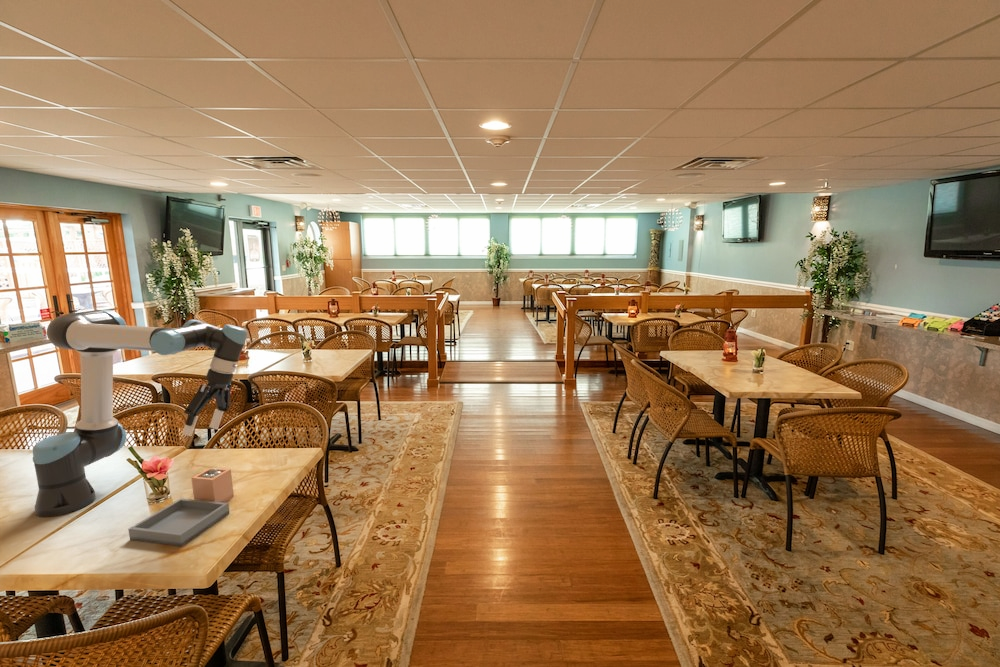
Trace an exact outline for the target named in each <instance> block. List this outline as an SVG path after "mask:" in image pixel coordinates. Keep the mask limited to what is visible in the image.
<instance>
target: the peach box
mask: <svg viewBox="0 0 1000 667" xmlns="http://www.w3.org/2000/svg"><path fill="white" fill-rule="evenodd" d="M232 478H233V477H232V469H231V468H221V467H209V468H206V469H205V470H204V471H202V472H200V473H198V474H196V475H194V476H192V477H191V485H192V492H193V500H202V501H212V502H221V503H227V502H228V501H229V500H231V499H233V497H234V486H233V479H232Z"/></svg>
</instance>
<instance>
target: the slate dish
mask: <svg viewBox="0 0 1000 667" xmlns="http://www.w3.org/2000/svg"><path fill="white" fill-rule="evenodd" d="M229 514H230V506H229V503H228V502H224V503H221V502H212V501H202V500H194V498H193V499H192V498H183V497H181V498H179V499H177V500H176V501H174V502H172V503H170V504H169V505H166V506H165V507H164V508H162V509H159V510H158V511H156V512H155V513H153V514H151V515H150V516H148V517H146V518H145V519H143V520H141V521H139V522H137V523H136V524H134V525H132V526H130V527H129V528H128V535H129V540H130V541H137V542H145V543H152V544H161V545H168V546H175V547H176V546H177V547H183V546H185V545H186V544H187V543H189V542H191V541H192V540H194V539H195V538H196V537H198V536H199V535H200V534H202V533H204V532H205V531H206V530H208V529H209V528H211V527H212V526H214V525H215V524H216V523H218V522H219V521H221V520H222V519H223V518H225V517H226V516H228V515H229Z"/></svg>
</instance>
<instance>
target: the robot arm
mask: <svg viewBox="0 0 1000 667" xmlns="http://www.w3.org/2000/svg"><path fill="white" fill-rule="evenodd" d="M46 328H47V329H46V337H47V339H48V340H49V342H50V343H51V344H52V345H53V346H55V347H57V348H59V349H62V350H73V351H75V352H77V353H78V354H80V407H81V408H80V420H79V421H77V423H75V427H74V428H75V432H63V433H59V434H56V435H51V436H49V437H46V438H44V439H42V440H40V441H39V442H37V443H35V445H34V446H33V449H32V462H33V463H34V464H33V466H34V468H35V475H36V480H37V487H38V492H37V495H36V500H35V505H34V512H35V513H36V514H35V516H37V515H38V516H37V517H41V516H50V517H55V516H56V515H57V516H62V515H65V513H66V514H68V513H72V511H73V512H75V511H78V510H80V508H81V509H83V508H85V507H87V506H88V504H89V505H91V504H92V503H93V502H94V501H95V500H96V499H97V498H96V496H97V494H96V491H95V489H94V488H93V486H92V485H91V483H90V482H89V480H88V479H87V476H86V470H85V467H87V466H90V465H91V464H94V463H96V462H98V461H100V460H102V459H105V458H108V457H110V456H112V455H113V454H115V453H117V452H118V451H120V450H121V449H122V448H123V446H124V445H125V444H126V441H127V433H126V430H125V429H124V426H123V425H122V424H121V423H119V419H117V418H115V417H114V414H113V411H114V409H113V408H114V396H113V394H114V353H116V352H117V351H118V350H128V351H130V350H131V351H142V352H143V351H145V352H146V351H147V352H155V353H157V354H158V355H161V356H168V355H169V356H170V355H176V354H178V353H181V352H185V351H189V350H192V349H196V348H200V347H205V348H209V349H211V350H214V354H213V357H212V360H211V361H210V364H209V368H208V371H207V373H206V376H205V380H206V381H207V384H206V385H204V384H200V385H199V387H198V390H197V392H196V393H195V395H194V396H193V397H192V399H191V401H190V402H189V404H187V407H186V408H185V409H184V414H186V415H187V418H186V421H185V423H184V427H183V430H182V433H181V434H182V435H184V436H187V437H188V436H189V437H192V435H193V434H194V433H193V432H194V429H195V427H196V424H197V422H198V418H199V416H198V415H199V414H200V412H201V411H202V410H203V409H204V407H205V406H206V405H207V404H208V403H209V402H210V401H212V400H213V399H215V403H216V407H217V408H215V409H214V411H213V415H212V418H211V420H210V424H209V426H208V428H211V429H213V430H219V426H220V424H221V420H222V419H223V415H224V412H228V411H229V408H230V406H231V390H232V386H233V385H232V380H233V377H234V373H235V371H236V368H237V367H238V362H239V359H240V358H241V354H242V351H243V349H244V346H245V344H246V341H247V336H248V330H247V329H246V328H243V327H240V326H238V325H237V326H236V325H233V324H229V323H228V324H225V325H224V326H223V327H220V326H217V325H214V324H210V323H207V322H206V321H203V320H198V319H189V320H187V321H186V322H185V323H184V324H183V325H182V326H181V327H180V326H179V327H175V328H174V327H157V326H141V325H127V323H126V321H125V318H123V317H122V316H121V315H120V314H119V313H117V312H116V311H114V310H110V309H94V310H89V311H88V310H87V311H82V312H81V311H80V312H73V313H71V312H70V313H65V314H62V315H59V316H57V317H55V318H54V319H52V320H51V321H50V323H49V324H48V325H47V327H46ZM84 506H85V507H84ZM82 507H83V508H82ZM61 514H62V515H61Z"/></svg>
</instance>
